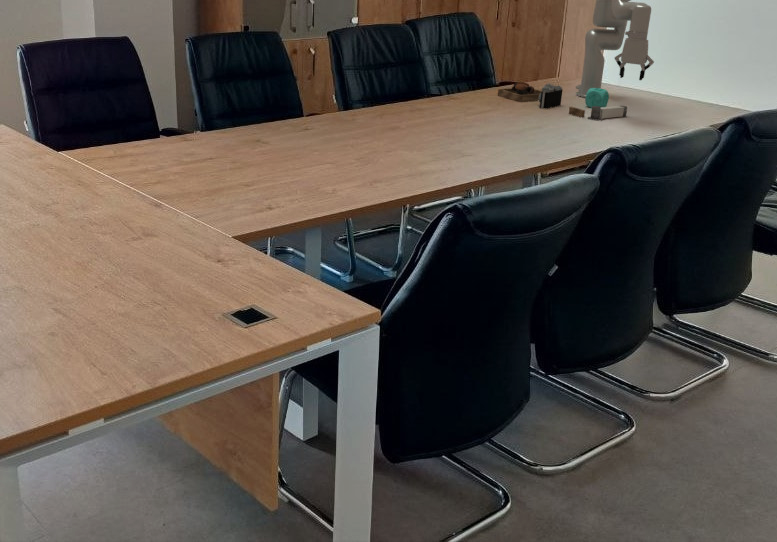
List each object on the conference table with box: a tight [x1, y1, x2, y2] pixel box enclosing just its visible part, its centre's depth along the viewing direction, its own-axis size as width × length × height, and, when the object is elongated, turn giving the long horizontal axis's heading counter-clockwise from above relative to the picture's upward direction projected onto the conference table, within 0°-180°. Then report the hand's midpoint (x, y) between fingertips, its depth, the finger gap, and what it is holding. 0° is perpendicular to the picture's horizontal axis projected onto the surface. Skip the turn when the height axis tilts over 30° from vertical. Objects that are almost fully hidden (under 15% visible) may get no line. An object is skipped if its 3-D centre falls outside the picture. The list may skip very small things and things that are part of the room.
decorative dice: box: [584, 88, 610, 109], centre depth 412 cm, size 8×8×8 cm
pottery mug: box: [511, 81, 535, 95], centre depth 424 cm, size 12×10×8 cm
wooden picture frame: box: [497, 87, 542, 103], centre depth 425 cm, size 16×18×3 cm
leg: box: [599, 105, 628, 119], centre depth 394 cm, size 16×4×4 cm, turn 123°
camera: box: [538, 83, 564, 109], centre depth 408 cm, size 15×7×10 cm, turn 140°
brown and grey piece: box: [568, 106, 603, 121], centre depth 391 cm, size 15×7×5 cm, turn 33°
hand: (631, 78), depth 383 cm, fingers open, 7 cm apart
